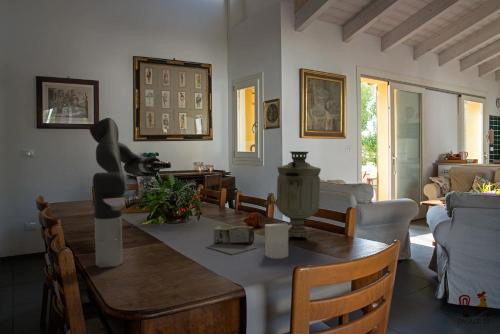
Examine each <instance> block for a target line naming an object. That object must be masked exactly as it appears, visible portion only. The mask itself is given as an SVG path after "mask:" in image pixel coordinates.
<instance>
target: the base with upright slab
mask: <svg viewBox="0 0 500 334" xmlns="http://www.w3.org/2000/svg"><path fill="white" fill-rule="evenodd" d="M288 230H289V224H288V223H285V222H284V223H283V222H282V223H269V224H264V255H266V256H267V257H266V256H265V257H266V258H269V257H270V259H284V258H287V257H289V239H288Z"/></svg>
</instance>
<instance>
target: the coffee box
mask: <svg viewBox="0 0 500 334" xmlns="http://www.w3.org/2000/svg"><path fill="white" fill-rule="evenodd" d="M253 242H255V227H254V226H252V227H250V226H247V225H246V226H245V225H244V226H241V225H219V226H217V227H215V228H213V243H214V244H221V243H225V244H240V245H249V246H251V244H252V243H253Z"/></svg>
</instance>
